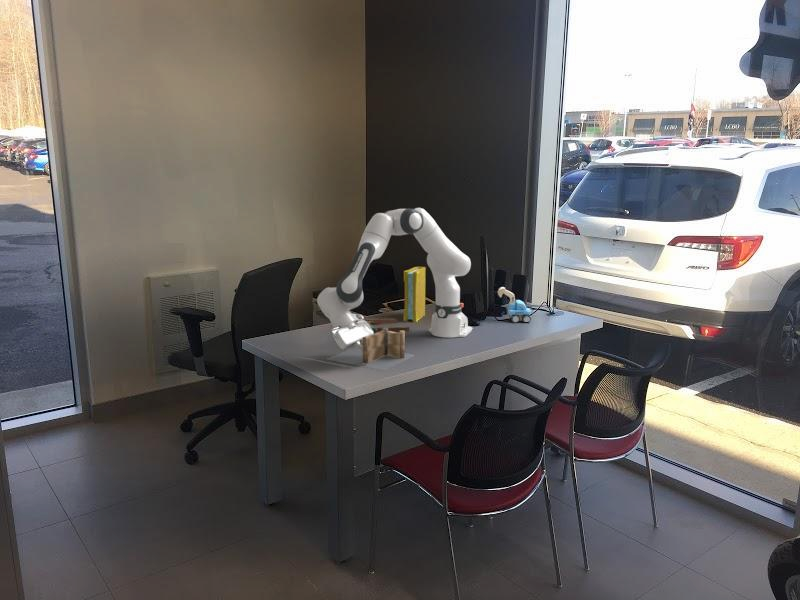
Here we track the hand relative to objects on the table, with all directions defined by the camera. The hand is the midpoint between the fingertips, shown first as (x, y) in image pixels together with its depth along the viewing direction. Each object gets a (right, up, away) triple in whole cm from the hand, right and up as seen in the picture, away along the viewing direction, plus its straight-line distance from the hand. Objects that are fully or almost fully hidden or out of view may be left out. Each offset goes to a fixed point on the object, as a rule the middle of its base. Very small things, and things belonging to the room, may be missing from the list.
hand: (365, 351), depth 259 cm
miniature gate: (0, +6, +54) cm, 54 cm away
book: (+21, +11, +76) cm, 80 cm away
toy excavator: (+70, +9, +71) cm, 100 cm away
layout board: (+2, -3, +8) cm, 9 cm away
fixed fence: (+11, -3, +10) cm, 15 cm away
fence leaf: (+3, -3, +4) cm, 6 cm away
